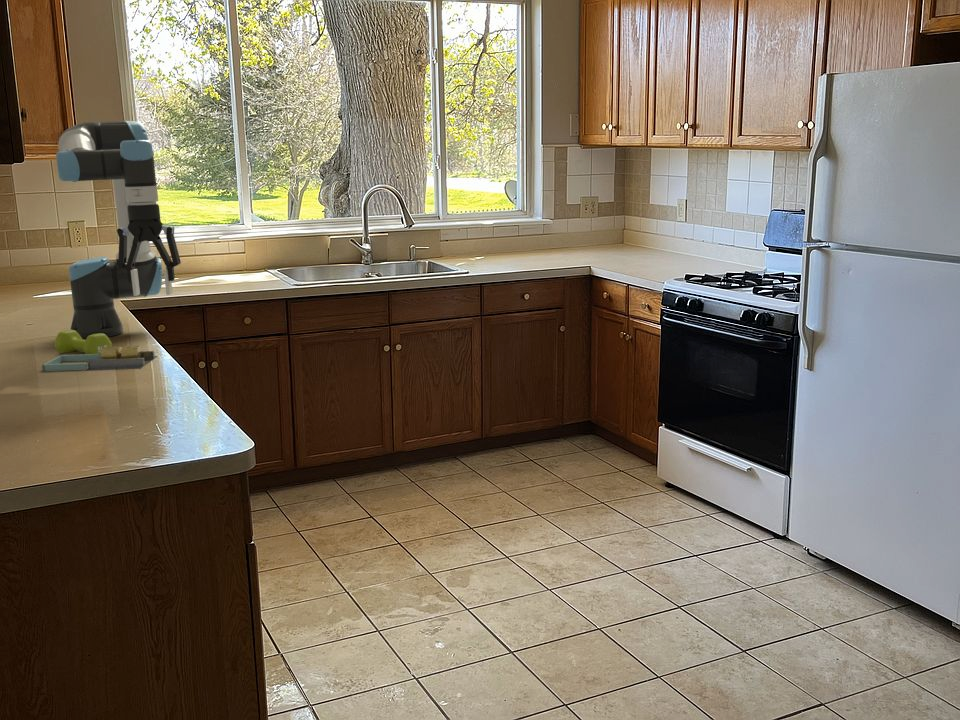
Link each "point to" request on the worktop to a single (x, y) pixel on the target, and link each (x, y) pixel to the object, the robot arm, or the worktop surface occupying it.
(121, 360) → the slot board
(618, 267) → the worktop surface
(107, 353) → the wooden block
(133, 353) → the wooden cube
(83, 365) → the tray
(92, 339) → the dumbbell
